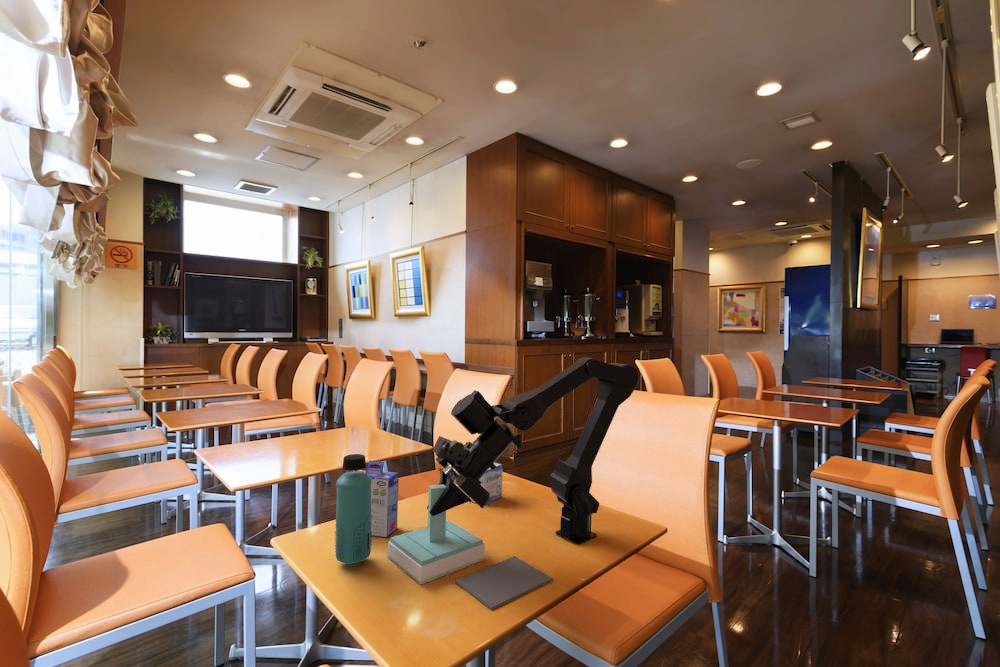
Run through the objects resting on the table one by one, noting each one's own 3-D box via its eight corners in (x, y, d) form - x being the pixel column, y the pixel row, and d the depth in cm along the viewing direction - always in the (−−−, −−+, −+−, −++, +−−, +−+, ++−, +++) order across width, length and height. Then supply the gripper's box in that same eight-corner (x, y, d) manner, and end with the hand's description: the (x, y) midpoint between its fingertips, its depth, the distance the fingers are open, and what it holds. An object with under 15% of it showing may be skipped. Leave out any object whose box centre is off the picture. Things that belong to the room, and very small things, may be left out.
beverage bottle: (371, 569, 84) (374, 459, 84) (332, 574, 82) (335, 461, 82) (371, 552, 90) (373, 450, 90) (334, 556, 88) (336, 451, 88)
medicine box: (485, 506, 115) (485, 471, 115) (470, 502, 118) (471, 468, 118) (502, 497, 122) (503, 464, 122) (488, 493, 124) (489, 461, 124)
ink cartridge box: (398, 527, 102) (400, 461, 102) (387, 538, 97) (389, 468, 96) (357, 522, 104) (358, 457, 104) (344, 533, 99) (345, 464, 98)
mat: (514, 558, 89) (514, 556, 89) (552, 580, 82) (552, 577, 82) (454, 582, 80) (454, 580, 80) (491, 610, 73) (491, 607, 73)
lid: (448, 524, 97) (449, 472, 97) (482, 544, 88) (483, 487, 88) (390, 542, 88) (391, 485, 88) (421, 566, 80) (422, 503, 80)
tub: (448, 537, 98) (449, 523, 98) (484, 559, 88) (484, 544, 88) (387, 557, 88) (387, 541, 88) (420, 584, 79) (420, 567, 79)
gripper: (446, 413, 98) (392, 470, 94) (474, 433, 81) (409, 503, 77) (480, 448, 101) (429, 504, 97) (514, 473, 84) (454, 543, 80)
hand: (429, 512), depth 88 cm, fingers closed on lid
